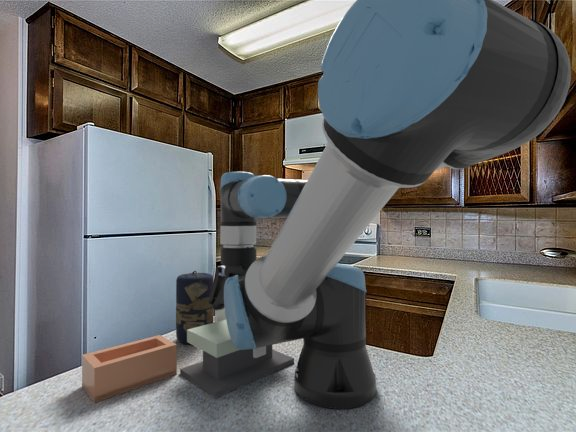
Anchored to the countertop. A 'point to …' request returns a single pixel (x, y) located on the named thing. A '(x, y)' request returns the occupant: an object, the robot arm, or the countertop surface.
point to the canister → (193, 302)
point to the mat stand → (233, 369)
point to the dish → (128, 367)
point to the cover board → (212, 339)
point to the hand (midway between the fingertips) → (238, 346)
